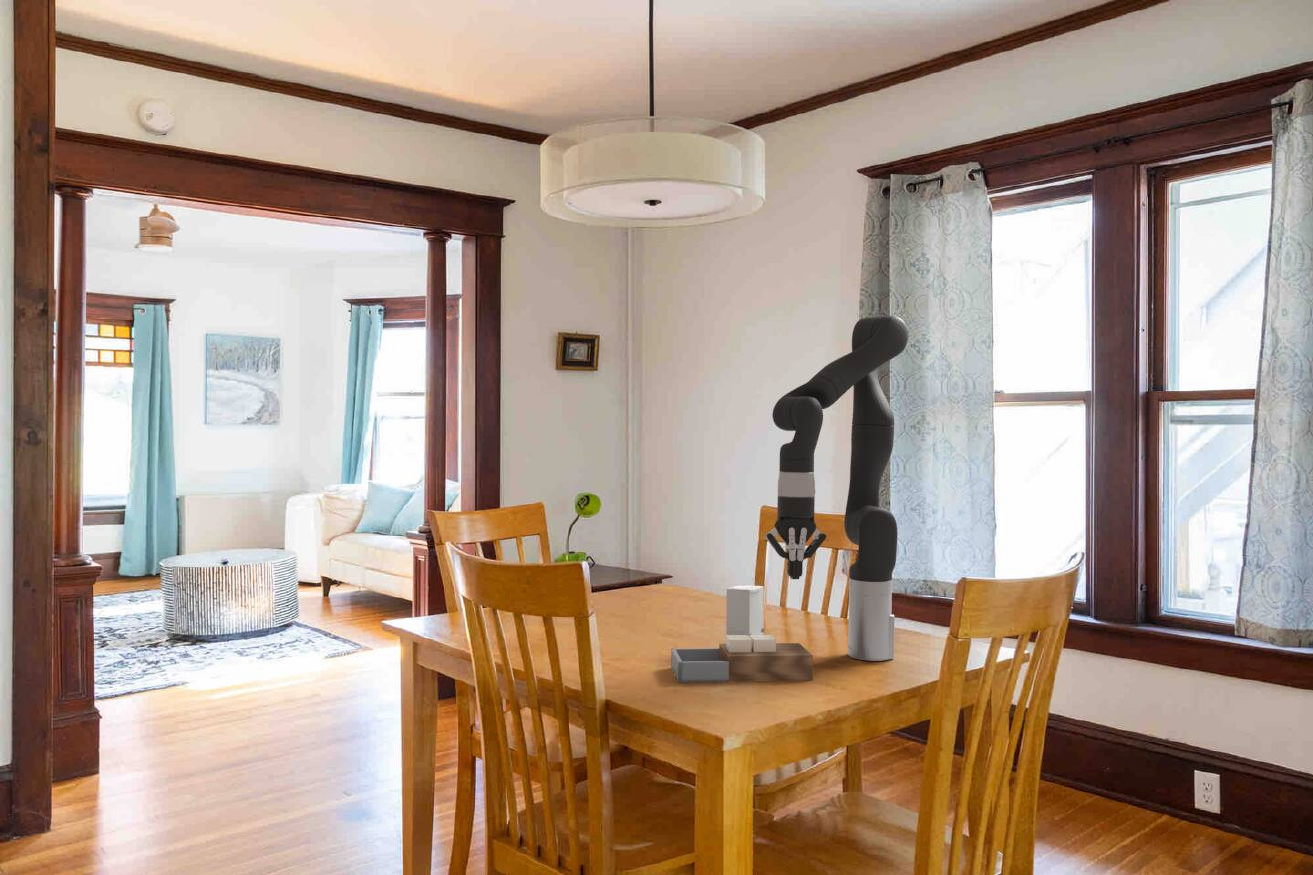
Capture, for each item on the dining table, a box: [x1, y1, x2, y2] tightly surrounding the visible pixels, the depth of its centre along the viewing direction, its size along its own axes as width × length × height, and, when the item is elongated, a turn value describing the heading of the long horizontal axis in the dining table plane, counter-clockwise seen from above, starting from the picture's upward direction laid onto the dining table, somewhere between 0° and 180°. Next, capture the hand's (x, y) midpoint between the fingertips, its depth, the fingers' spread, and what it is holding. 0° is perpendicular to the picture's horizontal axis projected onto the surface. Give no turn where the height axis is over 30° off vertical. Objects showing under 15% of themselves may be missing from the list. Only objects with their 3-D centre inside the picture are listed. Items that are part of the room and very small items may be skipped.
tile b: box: [725, 634, 752, 652], centre depth 194 cm, size 4×4×2 cm
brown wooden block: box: [718, 642, 814, 683], centre depth 195 cm, size 17×11×5 cm, turn 96°
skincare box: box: [725, 584, 765, 637], centre depth 213 cm, size 8×6×15 cm
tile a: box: [750, 634, 777, 652], centre depth 194 cm, size 4×4×2 cm
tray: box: [670, 647, 729, 684], centre depth 193 cm, size 10×12×4 cm
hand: (794, 578), depth 195 cm, fingers closed
